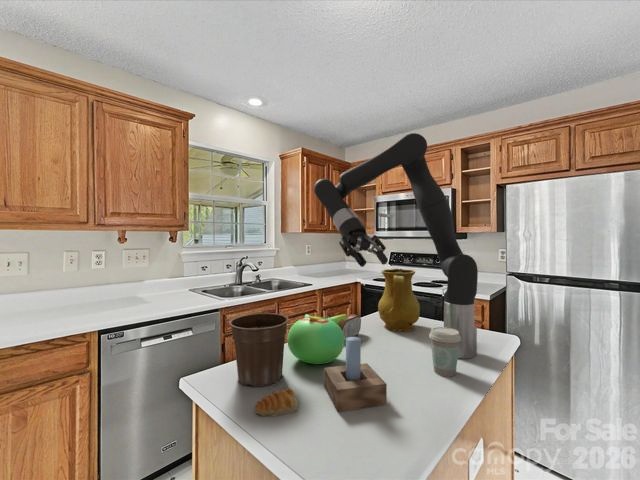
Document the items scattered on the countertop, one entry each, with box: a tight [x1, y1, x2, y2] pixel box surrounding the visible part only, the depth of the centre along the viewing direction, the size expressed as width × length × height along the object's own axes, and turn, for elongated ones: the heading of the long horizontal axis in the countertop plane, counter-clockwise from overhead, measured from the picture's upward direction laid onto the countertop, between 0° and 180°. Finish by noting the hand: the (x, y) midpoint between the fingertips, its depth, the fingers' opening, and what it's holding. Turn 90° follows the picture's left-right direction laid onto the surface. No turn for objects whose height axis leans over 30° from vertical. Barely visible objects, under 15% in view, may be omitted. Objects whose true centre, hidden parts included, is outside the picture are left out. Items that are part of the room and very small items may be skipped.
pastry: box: [254, 388, 299, 417], centre depth 73 cm, size 9×7×4 cm
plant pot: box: [228, 312, 289, 387], centre depth 89 cm, size 16×16×16 cm
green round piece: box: [286, 313, 348, 365], centre depth 100 cm, size 18×17×15 cm
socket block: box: [323, 362, 388, 413], centre depth 78 cm, size 12×12×5 cm
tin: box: [337, 313, 362, 342], centre depth 121 cm, size 15×3×8 cm, turn 144°
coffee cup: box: [428, 326, 461, 377], centre depth 91 cm, size 8×8×12 cm
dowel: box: [345, 336, 362, 381], centre depth 78 cm, size 4×4×14 cm
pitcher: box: [377, 268, 421, 333], centre depth 134 cm, size 17×19×25 cm
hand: (375, 263), depth 91 cm, fingers open, 8 cm apart
